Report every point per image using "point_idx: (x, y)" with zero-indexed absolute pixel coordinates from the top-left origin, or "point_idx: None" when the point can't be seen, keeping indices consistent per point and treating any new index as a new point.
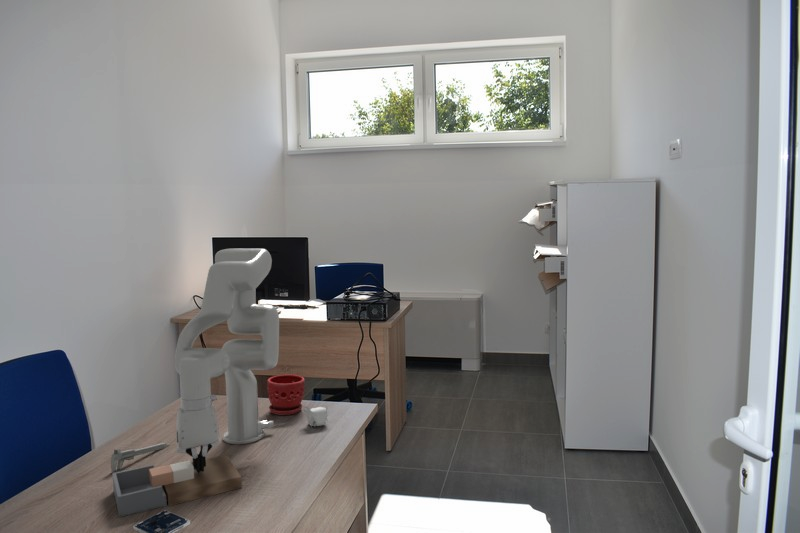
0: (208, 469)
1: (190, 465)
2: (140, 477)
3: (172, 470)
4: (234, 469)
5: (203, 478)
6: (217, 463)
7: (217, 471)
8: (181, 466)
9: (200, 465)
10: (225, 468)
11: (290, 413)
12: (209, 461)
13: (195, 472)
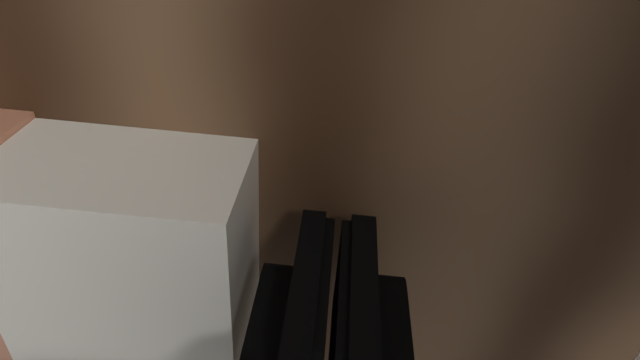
0: (443, 216)
1: (210, 352)
2: None
3: (6, 346)
4: (626, 346)
5: (328, 336)
6: (613, 138)
7: (488, 298)
8: (105, 320)
9: (329, 347)
10: (584, 291)
11: None
12: (584, 3)
13: (302, 201)
